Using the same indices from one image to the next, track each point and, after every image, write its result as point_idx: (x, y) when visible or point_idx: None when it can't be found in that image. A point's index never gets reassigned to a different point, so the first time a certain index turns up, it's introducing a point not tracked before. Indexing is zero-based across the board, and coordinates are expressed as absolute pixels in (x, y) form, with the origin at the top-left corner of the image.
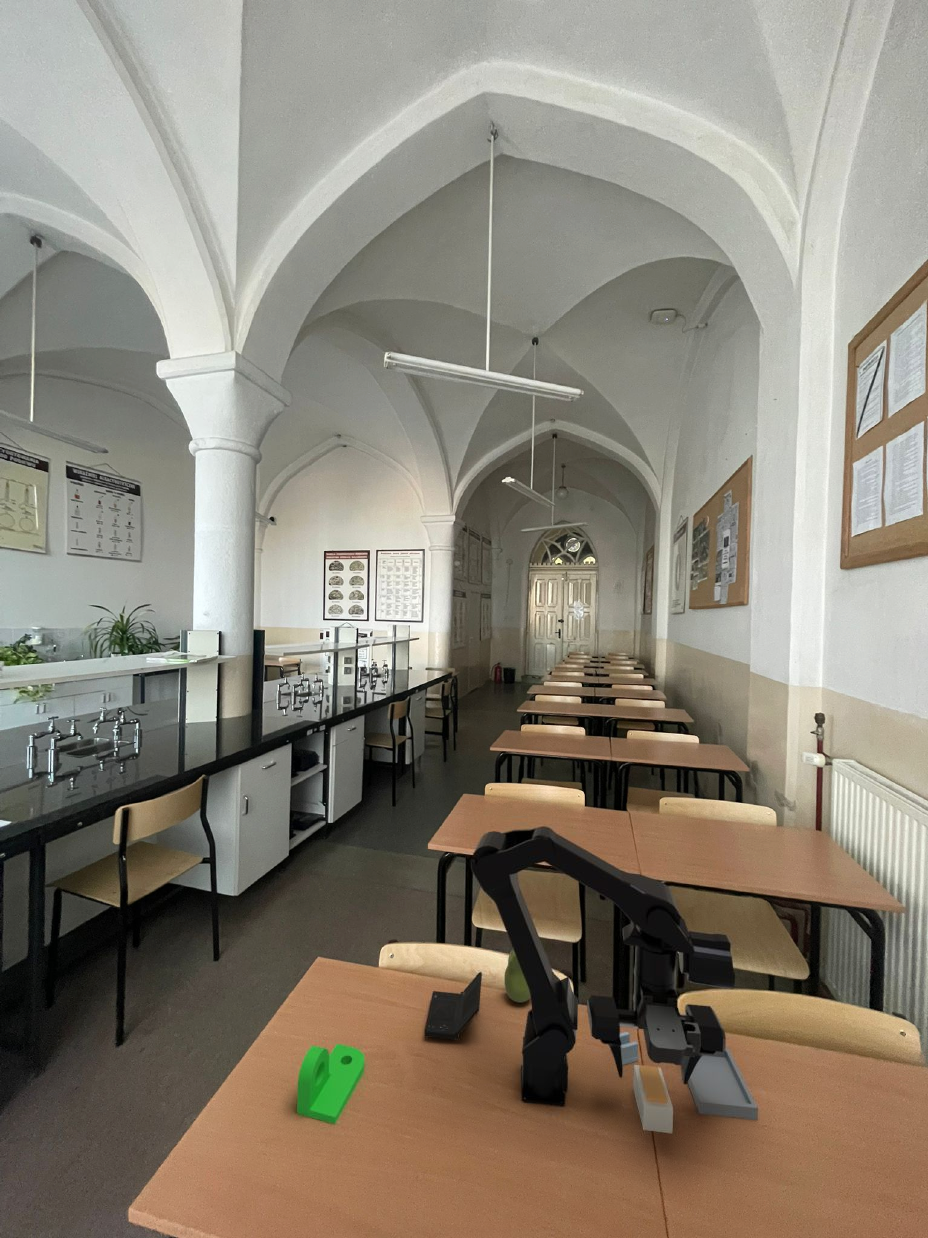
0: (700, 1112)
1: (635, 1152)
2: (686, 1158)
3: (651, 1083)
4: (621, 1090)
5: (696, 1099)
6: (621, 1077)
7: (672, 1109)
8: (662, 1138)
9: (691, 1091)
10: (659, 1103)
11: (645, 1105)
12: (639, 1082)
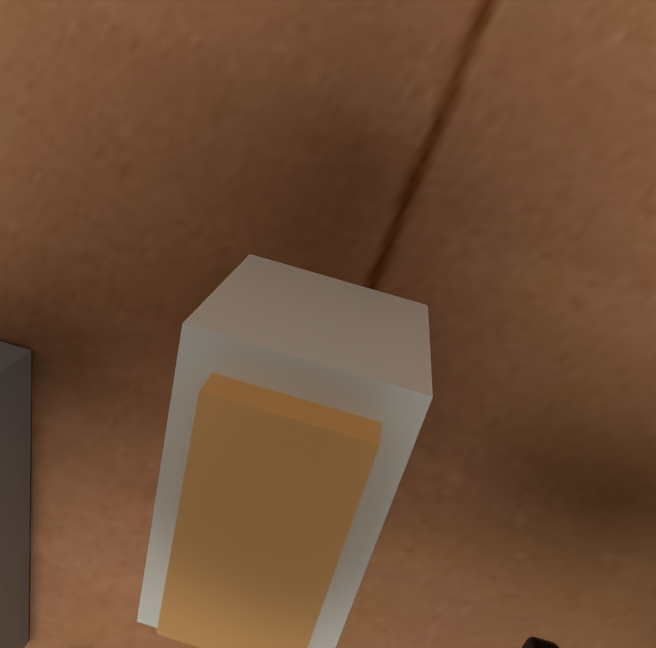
0: (18, 353)
1: (565, 181)
2: (226, 92)
3: (272, 542)
4: (416, 549)
5: (5, 416)
6: (538, 641)
7: (188, 322)
8: (321, 247)
9: (25, 468)
10: (280, 385)
11: (417, 392)
12: (357, 569)
